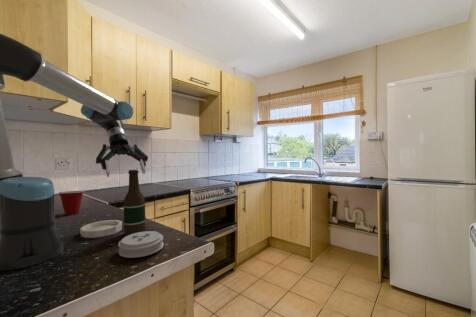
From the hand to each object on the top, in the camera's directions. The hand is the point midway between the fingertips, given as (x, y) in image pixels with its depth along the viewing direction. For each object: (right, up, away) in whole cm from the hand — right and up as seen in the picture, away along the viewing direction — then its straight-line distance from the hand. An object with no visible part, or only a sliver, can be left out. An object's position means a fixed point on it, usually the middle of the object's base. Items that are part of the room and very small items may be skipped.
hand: (127, 173), depth 91 cm
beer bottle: (+7, -22, -8) cm, 25 cm away
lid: (+16, -23, -23) cm, 36 cm away
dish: (-7, -22, -5) cm, 24 cm away
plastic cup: (-41, -23, +24) cm, 52 cm away
